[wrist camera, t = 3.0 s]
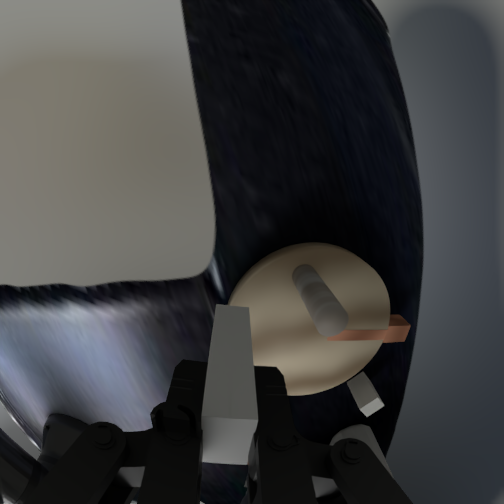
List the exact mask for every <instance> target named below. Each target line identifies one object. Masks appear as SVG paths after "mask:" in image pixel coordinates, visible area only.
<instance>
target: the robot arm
mask: <svg viewBox="0 0 504 504" xmlns="http://www.w3.org/2000/svg"><path fill="white" fill-rule="evenodd" d="M150 415H151V421H152V425H153V428H151V429H148V430H145V431H137V432H123V431H122V429H120V428H119V427H118V426H116V425H115V424H112V423H108V422H97V423H94V424H91V425H90V426H88V425H87V424H85V423H83V422H81V421H79V420H77V419H74V418H72V417H69V416H66V415H62V414H52V415H50V416H49V417H48V419H47V421H46V423H45V425H44V429H43V438H42V448H41V453H40V456H39V458H38V460H36V459H34V458H33V457H32V456H31V455H29V454H28V453H27V452H26V451H25V450H24V449H22V448H21V447H20V446H19V445H18V444H17V443H16V442H14V441H13V440H12V439H11V438H10V437H9V436H8V435H7V434H6V433H5V432H4V431H3V430H2V429H1V428H0V504H130V503H131V501H132V499H133V498H134V496H135V494H136V493H137V491H138V489H139V487H140V492H139V497H138V501H137V504H200V492H201V477H202V472H201V469H202V462H211V463H223V464H243V465H247V462H248V467H249V472H248V475H247V478H246V482H245V486H244V487H247V493H248V504H413V503H412V502H411V500H410V499H409V498H408V497H407V495H406V494H405V493H404V492H403V490H402V489H401V488H400V486H399V485H398V484H397V482H396V481H395V480H394V479H393V477H392V476H391V475H390V473H389V472H388V471H387V469H386V468H385V467H384V465H383V464H382V463H381V461H380V460H379V459H378V458H377V456H376V455H375V454H374V452H373V451H372V450H371V448H370V447H369V446H368V445H367V444H366V443H365V442H363V441H361V440H359V439H354V438H345V439H341V440H339V441H337V442H336V443H335V444H334V445H326V444H321V443H315V442H312V441H309V440H307V439H305V438H303V437H302V436H301V435H300V434H299V433H298V432H297V430H296V429H295V426H294V422H293V417H292V413H291V408H290V403H289V398H288V396H287V389H286V384H285V379H284V375H283V374H282V373H281V372H280V370H279V369H278V368H277V367H273V366H254V363H253V351H252V338H251V326H250V313H249V307H240V306H230V305H220V304H216V310H215V317H214V324H213V331H212V338H211V345H210V352H209V360H208V362H199V361H191V360H184V359H183V360H182V361H181V362H180V363H179V364H178V365H177V366H176V367H175V370H174V374H173V378H172V381H171V385H170V388H169V392H168V396H167V400H166V402H163V403H160V404H159V405H157V406H156V407H154V409H153V410H152V412H151V414H150Z"/></svg>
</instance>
